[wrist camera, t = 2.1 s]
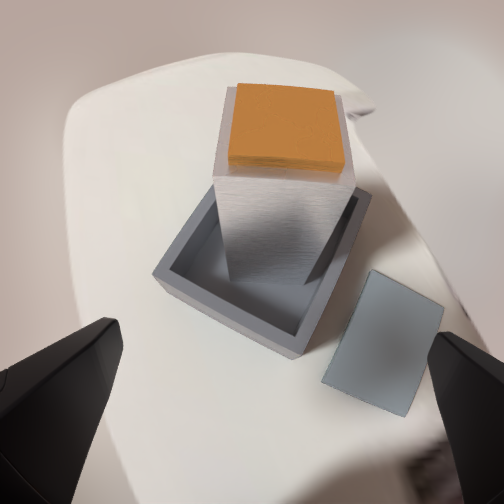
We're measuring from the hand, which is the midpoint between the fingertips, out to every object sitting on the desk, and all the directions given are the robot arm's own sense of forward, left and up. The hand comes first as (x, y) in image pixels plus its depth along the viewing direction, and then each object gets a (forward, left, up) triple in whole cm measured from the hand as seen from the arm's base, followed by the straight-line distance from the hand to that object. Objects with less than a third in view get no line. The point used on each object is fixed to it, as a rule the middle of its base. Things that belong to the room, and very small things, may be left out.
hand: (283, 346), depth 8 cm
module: (+7, +3, -13) cm, 15 cm away
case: (+7, +3, -14) cm, 16 cm away
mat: (+5, -8, -14) cm, 16 cm away
